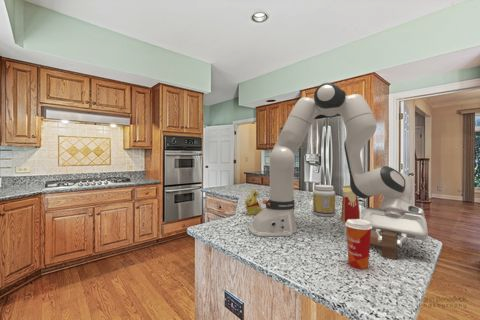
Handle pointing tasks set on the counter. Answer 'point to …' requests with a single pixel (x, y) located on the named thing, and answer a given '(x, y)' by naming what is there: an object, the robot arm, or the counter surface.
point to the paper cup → (358, 242)
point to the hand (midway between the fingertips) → (389, 244)
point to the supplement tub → (324, 200)
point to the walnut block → (389, 244)
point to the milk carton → (349, 205)
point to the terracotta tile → (375, 238)
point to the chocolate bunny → (253, 203)
